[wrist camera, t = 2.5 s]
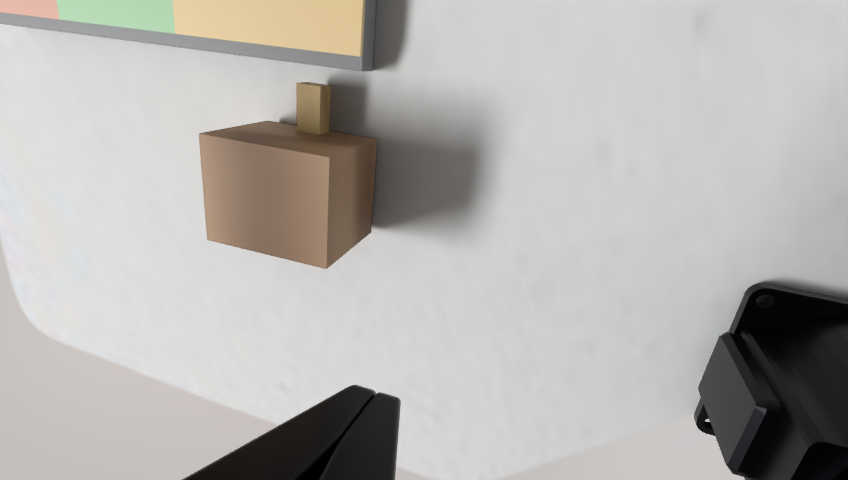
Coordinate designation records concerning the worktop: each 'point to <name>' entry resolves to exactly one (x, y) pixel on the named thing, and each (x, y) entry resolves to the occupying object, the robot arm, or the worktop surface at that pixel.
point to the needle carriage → (289, 184)
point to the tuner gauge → (218, 26)
